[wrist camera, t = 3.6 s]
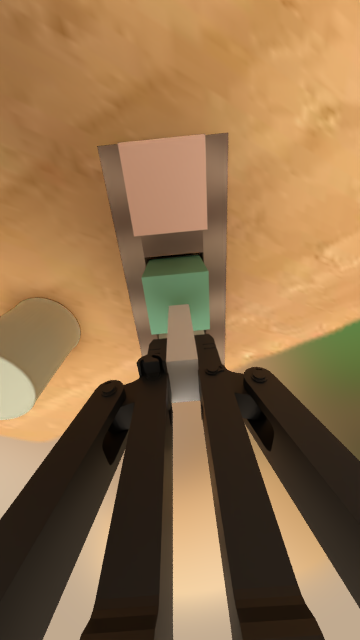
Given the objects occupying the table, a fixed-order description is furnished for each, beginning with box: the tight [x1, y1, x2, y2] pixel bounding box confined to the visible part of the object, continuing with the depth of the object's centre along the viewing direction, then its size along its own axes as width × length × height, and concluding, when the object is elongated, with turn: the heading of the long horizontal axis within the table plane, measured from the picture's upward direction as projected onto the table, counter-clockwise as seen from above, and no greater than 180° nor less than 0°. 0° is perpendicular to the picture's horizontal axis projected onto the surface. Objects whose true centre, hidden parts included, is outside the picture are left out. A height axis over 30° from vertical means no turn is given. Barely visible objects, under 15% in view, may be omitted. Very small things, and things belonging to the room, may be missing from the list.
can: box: [0, 298, 80, 420], centre depth 25 cm, size 9×9×12 cm
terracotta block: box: [118, 134, 208, 236], centre depth 17 cm, size 5×5×7 cm
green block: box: [141, 254, 210, 335], centre depth 21 cm, size 5×5×7 cm
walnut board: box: [97, 133, 228, 366], centre depth 25 cm, size 25×11×4 cm, turn 5°
